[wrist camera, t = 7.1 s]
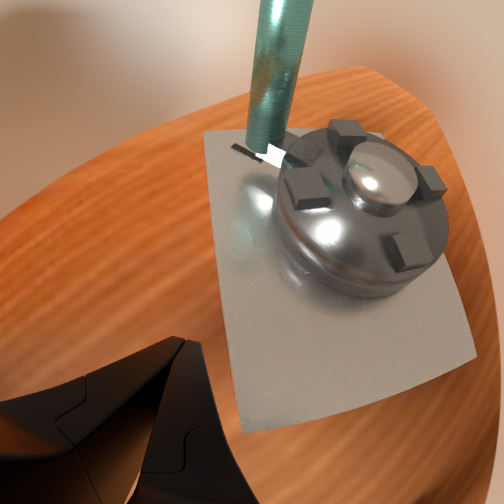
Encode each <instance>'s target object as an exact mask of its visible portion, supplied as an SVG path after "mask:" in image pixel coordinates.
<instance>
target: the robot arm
mask: <svg viewBox="0 0 504 504" xmlns="http://www.w3.org/2000/svg"><path fill="white" fill-rule="evenodd" d="M141 467H142V468H141ZM140 469H141V472H140V476H139V479H138V483H137V486H136V488H135V491H134V493H133V495H132V496H131V498H130V499H129V501H128V502H127V504H260V503H259V502H258V500H257V499H256V497H255V495H254V493H253V492H252V490H251V488H250V486H249V485H248V483H247V481H246V479H245V477H244V475H243V474H242V472H241V470H240V468H239V466H238V464H237V462H236V460H235V458H234V456H233V454H232V452H231V450H230V447H229V445H228V443H227V440H226V437H225V434H224V431H223V428H222V424H221V421H220V419H219V414H218V411H217V407H216V403H215V399H214V396H213V392H212V388H211V384H210V380H209V376H208V372H207V368H206V364H205V359H204V355H203V351H202V346H201V343H200V342H196V341H192V340H185V339H184V338H180V337H176V336H170V337H168V338H166V339H164V340H162V341H160V342H157V343H155V344H153V345H151V346H149V347H147V348H144V349H142V350H140V351H138V352H136V353H133V354H131V355H129V356H127V357H125V358H122V359H120V360H118V361H116V362H113V363H111V364H109V365H107V366H104V367H102V368H100V369H98V370H95V371H93V372H91V373H88V374H86V375H85V376H81V377H79V378H76V379H74V380H71V381H69V382H66V383H64V384H61V385H58V386H55V387H52V388H49V389H46V390H43V391H39V392H36V393H32V394H28V395H25V396H21V397H17V398H13V399H9V400H5V401H1V402H0V504H124V502H125V500H126V498H127V496H128V494H129V492H130V490H131V488H132V486H133V484H134V482H135V480H136V478H137V475H138V473H139V471H140Z"/></svg>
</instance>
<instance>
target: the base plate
mask: <svg viewBox="0 0 504 504" xmlns="http://www.w3.org/2000/svg"><path fill="white" fill-rule="evenodd" d="M314 130H318V129H303V128H286V131H288V132H290V133H292V134H294V135H296V136H298V137H301V136H303V135H304V134H307V133H309V132H311V131H314ZM367 133H370V134H373V135H376V136H378V137H380V138H382V139H384V137H383V136H382V134H381V133H374V132H367ZM203 134H204V154H205V166H206V177H207V187H208V197H209V207H210V216H211V226H212V235H213V244H214V252H215V261H216V269H217V277H218V285H219V292H220V300H221V308H222V315H223V322H224V329H225V336H226V343H227V350H228V356H229V363H230V370H231V376H232V382H233V388H234V395H235V401H236V407H237V412H238V418H239V424H240V430H241V432H242V434H245V433H252V432H258V431H264V430H270V429H275V428H280V427H285V426H290V425H294V424H299V423H303V422H308V421H312V420H316V419H320V418H323V417H327V416H331V415H335V414H338V413H342V412H345V411H348V410H352V409H355V408H358V407H361V406H364V405H367V404H370V403H373V402H376V401H379V400H382V399H385V398H387V397H390V396H393V395H395V394H398V393H401V392H403V391H406V390H408V389H411V388H413V387H415V386H418V385H420V384H422V383H425V382H427V381H429V380H432V379H434V378H436V377H438V376H440V375H442V374H445V373H447V372H449V371H451V370H453V369H455V368H457V367H459V366H461V365H463V364H465V363H467V362H469V361H470V360H472V359H474V358H476V357H477V353H476V349H475V345H474V341H473V338H472V334H471V330H470V327H469V323H468V320H467V317H466V313H465V310H464V307H463V304H462V301H461V298H460V295H459V292H458V289H457V286H456V283H455V281H454V278H453V275H452V272H451V270H450V267H449V265H448V262H447V260H446V257H445V255H444V252H443V253H442V255H441V256H440V258H439V259H438V260H437V262H435V263H434V264H433V265H432V266H431V267H430V268H429V269H427V270H426V271H425V272H424V273H423V274H421V275H420V276H419V277H418V278H416V279H415V280H414V281H413V282H411V283H410V284H409V285H407V286H406V287H405V288H403V289H401V290H399V291H398V292H395V293H392V294H389V295H385V296H379V297H364V296H356V295H352V294H348V293H344V292H342V291H339V290H337V289H334V288H332V287H330V286H328V285H326V284H324V283H323V282H321V281H319V280H318V279H316V278H315V277H314V276H312V275H311V274H310V273H308V272H307V271H306V270H305V269H304V268H303V267H302V266H301V265H300V264H299V263H298V262H297V261H296V260H295V259H294V258H293V257H292V255H291V254H290V252H289V251H288V250H287V248H286V247H285V245H284V243H283V241H282V239H281V238H280V236H279V233H278V230H277V228H276V225H275V220H274V216H273V198H274V193H275V189H276V184H277V180H278V176H279V171H280V168H278V167H277V166H275V165H273V164H271V163H269V162H267V161H265V160H263V159H261V158H259V157H257V156H255V155H256V152H253V151H252V150H250V149H249V148H248V147H247V145H246V143H245V138H246V129H234V130H217V131H203Z"/></svg>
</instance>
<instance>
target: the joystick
mask: <svg viewBox="0 0 504 504" xmlns="http://www.w3.org/2000/svg"><path fill="white" fill-rule="evenodd" d="M313 2H314V0H261V2H260V10H259V19H258V27H257V37H256V44H255V53H254V62H253V71H252V80H251V90H250V99H249V109H248V119H247V128H246V138H245V143H246V145H247V147H248V148H249V149H250V150H252V151H253V152H256V155H255V156H257V157H259V158H261V159H263V160H265V161H267V162H269V163H271V164H273V165H275V166H277V167H278V168H280V171H279V176H278V180H277V184H276V189H275V193H274V198H273V216H274V220H275V225H276V228H277V230H278V233H279V236H280V238H281V239H282V241H283V243H284V245H285V247H286V248H287V250H288V251H289V252H290V254H291V255H292V257H293V258H294V259H295V260H296V261H297V262H298V263H299V264H300V265H301V266H302V267H303V268H304V269H305V270H306V271H307V272H308V273H310V274H311V275H312V276H314V277H315V278H316V279H318V280H319V281H321V282H323V283H324V284H326V285H328V286H330V287H332V288H334V289H337V290H339V291H342V292H344V293H348V294H352V295H356V296H364V297H379V296H385V295H389V294H392V293H395V292H398V291H399V290H401V289H403V288H405V287H406V286H407V285H409V284H410V283H411V282H413V281H414V280H415V279H416V278H418V277H419V276H420V275H421V274H423V273H424V272H425V271H426V270H427V269H429V268H430V267H431V266H432V265H433V264H434V263H435V262H437V260H438V259H439V258H440V256H441V255H442V253H443V251H444V249H445V247H446V244H447V240H448V233H449V223H448V216H447V211H446V207H445V204H444V201H443V199H442V196H443V195H444V194H445V192H446V191H447V188H446V186H445V185H444V183H443V181H442V180H441V178H440V177H439V175H438V173H437V172H436V170H435V169H434V167H433V166H420V165H419V164H418V163H417V162H416V161H415V160H414V159H413V158H412V157H411V156H409V155H408V154H407V153H405V152H404V151H403V150H401V149H400V148H398V147H397V146H395V145H394V144H392V143H390V142H388V141H386V140H385V139H382V138H380V137H378V136H376V135H373V134H370V133H367V132H364V130H363V129H362V127H361V126H360V125H359V123H358V122H357V120H337V119H330V122H329V125H328V128H323V129H318V130H314V131H311V132H309V133H307V134H304V135H303V136H301V137H298V136H296V135H294V134H292V133H290V132H288V131H286V128H287V123H288V118H289V114H290V109H291V105H292V100H293V95H294V91H295V86H296V82H297V77H298V72H299V68H300V63H301V58H302V54H303V49H304V44H305V40H306V35H307V30H308V25H309V21H310V15H311V11H312V6H313Z"/></svg>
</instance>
